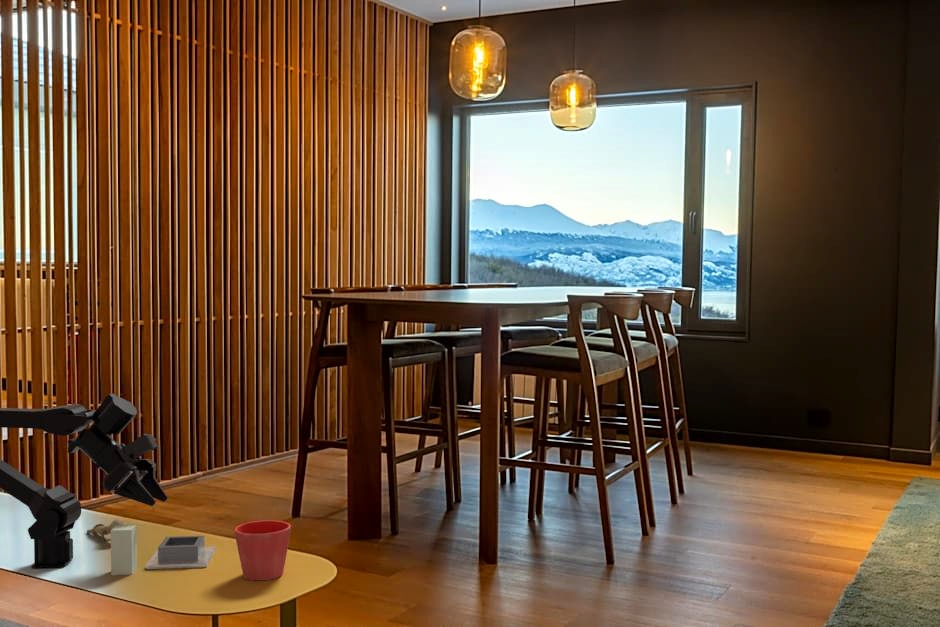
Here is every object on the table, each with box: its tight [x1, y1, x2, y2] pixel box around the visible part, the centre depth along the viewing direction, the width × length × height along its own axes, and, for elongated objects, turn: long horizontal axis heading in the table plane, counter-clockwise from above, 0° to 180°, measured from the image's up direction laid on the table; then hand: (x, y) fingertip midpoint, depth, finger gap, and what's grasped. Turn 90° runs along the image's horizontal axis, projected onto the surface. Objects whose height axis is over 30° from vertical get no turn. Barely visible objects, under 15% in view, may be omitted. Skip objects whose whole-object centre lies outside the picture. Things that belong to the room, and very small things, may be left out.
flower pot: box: [234, 519, 292, 581], centre depth 185 cm, size 11×11×10 cm
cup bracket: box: [145, 535, 217, 570], centre depth 195 cm, size 12×12×4 cm
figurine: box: [86, 518, 125, 542], centre depth 211 cm, size 4×4×15 cm
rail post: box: [110, 524, 138, 576], centre depth 187 cm, size 4×4×9 cm
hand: (160, 502), depth 190 cm, fingers open, 9 cm apart
